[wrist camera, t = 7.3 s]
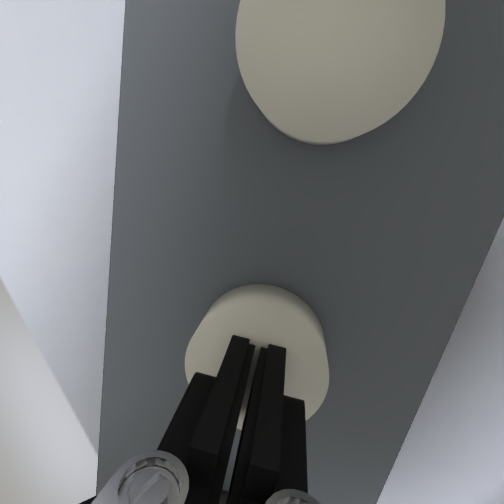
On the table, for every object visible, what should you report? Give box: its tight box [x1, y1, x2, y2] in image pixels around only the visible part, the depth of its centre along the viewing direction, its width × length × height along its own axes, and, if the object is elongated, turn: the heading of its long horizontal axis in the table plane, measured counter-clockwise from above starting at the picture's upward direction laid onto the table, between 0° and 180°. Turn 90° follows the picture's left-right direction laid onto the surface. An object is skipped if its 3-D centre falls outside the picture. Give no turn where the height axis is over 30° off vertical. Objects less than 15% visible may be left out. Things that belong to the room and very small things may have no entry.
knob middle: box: [185, 284, 329, 430], centre depth 12 cm, size 4×4×6 cm
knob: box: [235, 0, 445, 145], centre depth 10 cm, size 4×4×6 cm
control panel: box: [96, 0, 504, 504], centre depth 14 cm, size 26×12×5 cm, turn 169°
